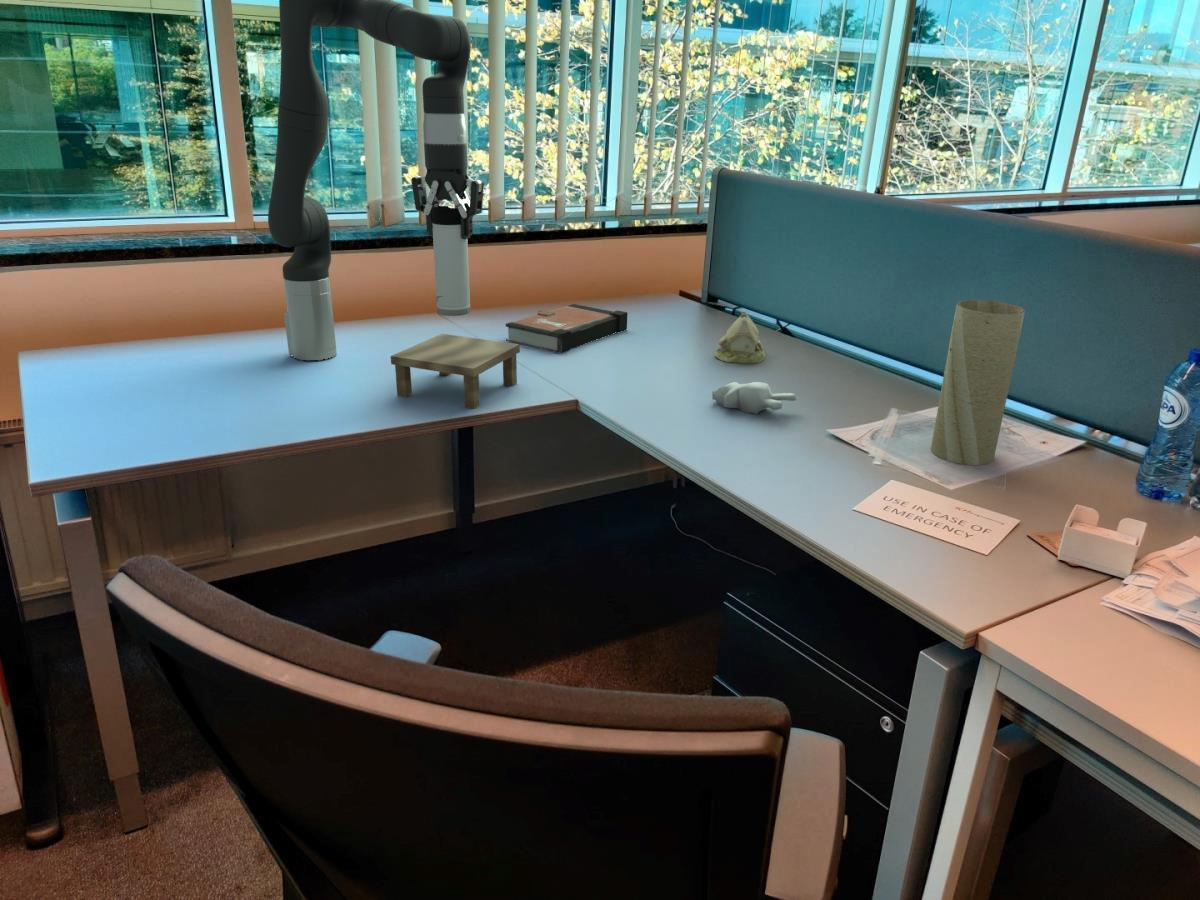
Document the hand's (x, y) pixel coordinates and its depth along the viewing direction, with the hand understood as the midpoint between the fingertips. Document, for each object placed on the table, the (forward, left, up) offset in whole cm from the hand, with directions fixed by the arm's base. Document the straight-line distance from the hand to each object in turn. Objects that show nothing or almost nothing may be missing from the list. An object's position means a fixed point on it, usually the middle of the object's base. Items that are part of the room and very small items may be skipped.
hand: (449, 236), depth 160 cm
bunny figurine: (+56, +14, -30) cm, 65 cm away
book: (+2, +47, -30) cm, 56 cm away
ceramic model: (+45, +49, -30) cm, 73 cm away
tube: (+93, +8, -30) cm, 98 cm away
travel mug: (0, 0, -14) cm, 14 cm away
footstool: (0, 0, -30) cm, 30 cm away
